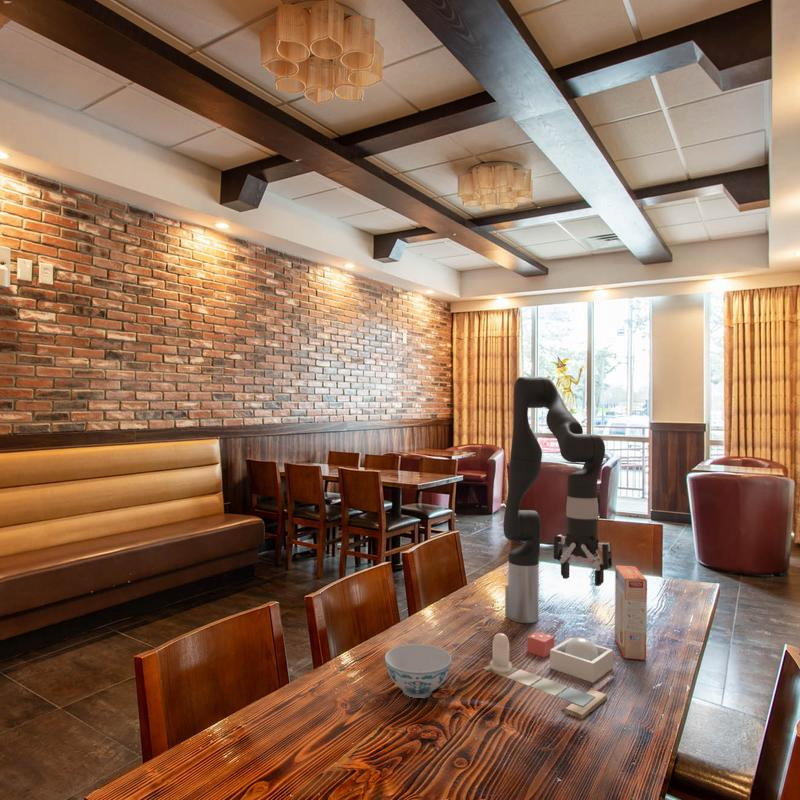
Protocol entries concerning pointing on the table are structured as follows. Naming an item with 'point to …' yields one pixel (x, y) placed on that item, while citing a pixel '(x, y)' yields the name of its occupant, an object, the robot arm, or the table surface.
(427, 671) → the chinaware
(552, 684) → the board
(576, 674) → the button housing
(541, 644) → the die
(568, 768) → the table surface
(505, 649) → the pawn
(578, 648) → the dome
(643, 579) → the cracker box
